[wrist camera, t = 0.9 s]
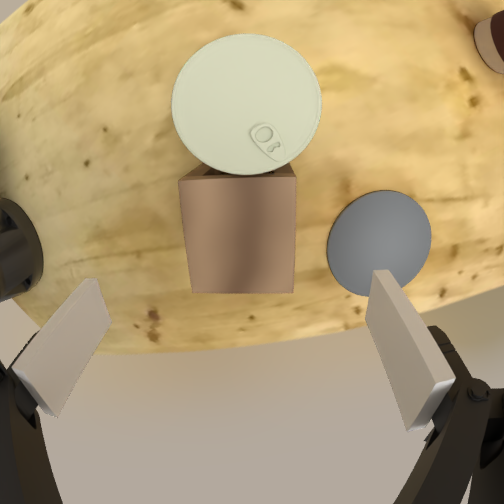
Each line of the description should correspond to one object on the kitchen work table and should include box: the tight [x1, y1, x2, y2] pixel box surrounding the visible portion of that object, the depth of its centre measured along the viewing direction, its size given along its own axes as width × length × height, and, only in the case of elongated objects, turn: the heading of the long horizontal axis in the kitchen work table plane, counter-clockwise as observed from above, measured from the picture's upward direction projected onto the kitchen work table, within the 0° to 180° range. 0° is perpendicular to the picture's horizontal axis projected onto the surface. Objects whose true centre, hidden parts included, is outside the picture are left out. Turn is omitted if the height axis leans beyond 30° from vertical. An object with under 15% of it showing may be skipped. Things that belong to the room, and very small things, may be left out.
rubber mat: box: [327, 190, 431, 297], centre depth 31 cm, size 13×13×1 cm
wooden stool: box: [178, 163, 296, 293], centre depth 26 cm, size 8×9×10 cm
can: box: [171, 34, 322, 175], centre depth 21 cm, size 9×9×12 cm
